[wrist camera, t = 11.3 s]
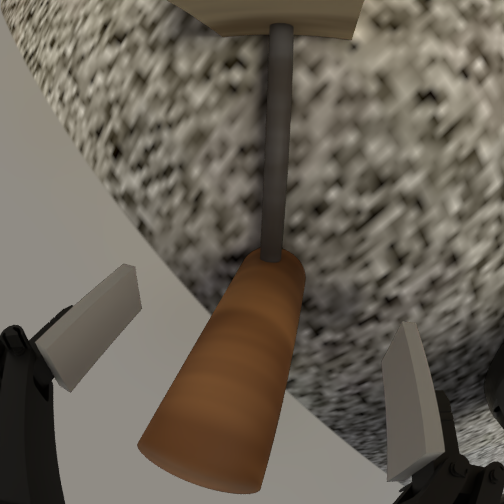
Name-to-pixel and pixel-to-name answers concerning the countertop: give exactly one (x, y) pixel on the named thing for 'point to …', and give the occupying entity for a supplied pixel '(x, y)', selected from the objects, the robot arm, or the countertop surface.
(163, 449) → the corded block
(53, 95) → the countertop surface
